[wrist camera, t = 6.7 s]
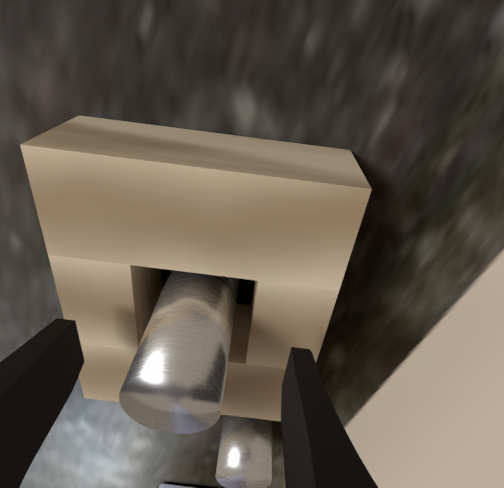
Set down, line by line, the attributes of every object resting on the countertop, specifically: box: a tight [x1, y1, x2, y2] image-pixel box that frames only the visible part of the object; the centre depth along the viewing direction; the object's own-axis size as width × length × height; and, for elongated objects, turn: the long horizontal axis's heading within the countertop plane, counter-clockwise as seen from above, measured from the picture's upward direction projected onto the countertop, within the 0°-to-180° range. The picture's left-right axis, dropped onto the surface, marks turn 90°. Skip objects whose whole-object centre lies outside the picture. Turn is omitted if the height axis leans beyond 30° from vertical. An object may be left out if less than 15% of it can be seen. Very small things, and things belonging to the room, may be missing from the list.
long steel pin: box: [119, 270, 240, 434], centre depth 13 cm, size 3×3×7 cm
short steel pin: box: [216, 415, 272, 488], centre depth 20 cm, size 3×3×4 cm
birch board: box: [20, 116, 372, 421], centre depth 15 cm, size 12×10×4 cm
